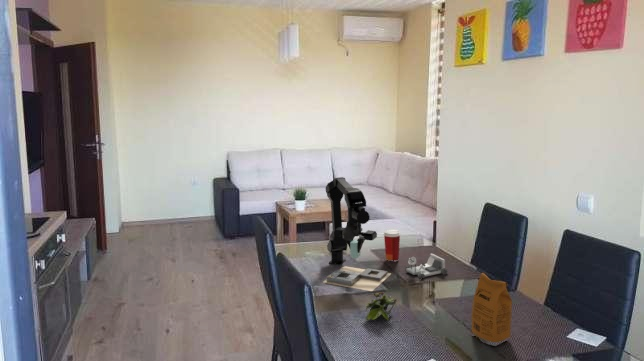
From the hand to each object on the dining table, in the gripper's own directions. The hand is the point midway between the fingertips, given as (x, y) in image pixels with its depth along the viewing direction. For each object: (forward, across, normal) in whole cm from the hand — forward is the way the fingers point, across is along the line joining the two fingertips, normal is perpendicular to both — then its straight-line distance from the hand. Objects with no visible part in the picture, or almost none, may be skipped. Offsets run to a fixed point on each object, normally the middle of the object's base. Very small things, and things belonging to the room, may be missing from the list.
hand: (355, 252), depth 229 cm
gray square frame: (+13, +6, +6) cm, 15 cm away
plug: (+2, 0, 0) cm, 2 cm away
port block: (+13, -4, -4) cm, 14 cm away
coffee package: (+13, +63, -31) cm, 71 cm away
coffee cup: (+13, +7, +29) cm, 32 cm away
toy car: (+14, +25, +19) cm, 35 cm away
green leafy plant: (+13, +24, -31) cm, 41 cm away
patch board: (+13, 0, 0) cm, 13 cm away
